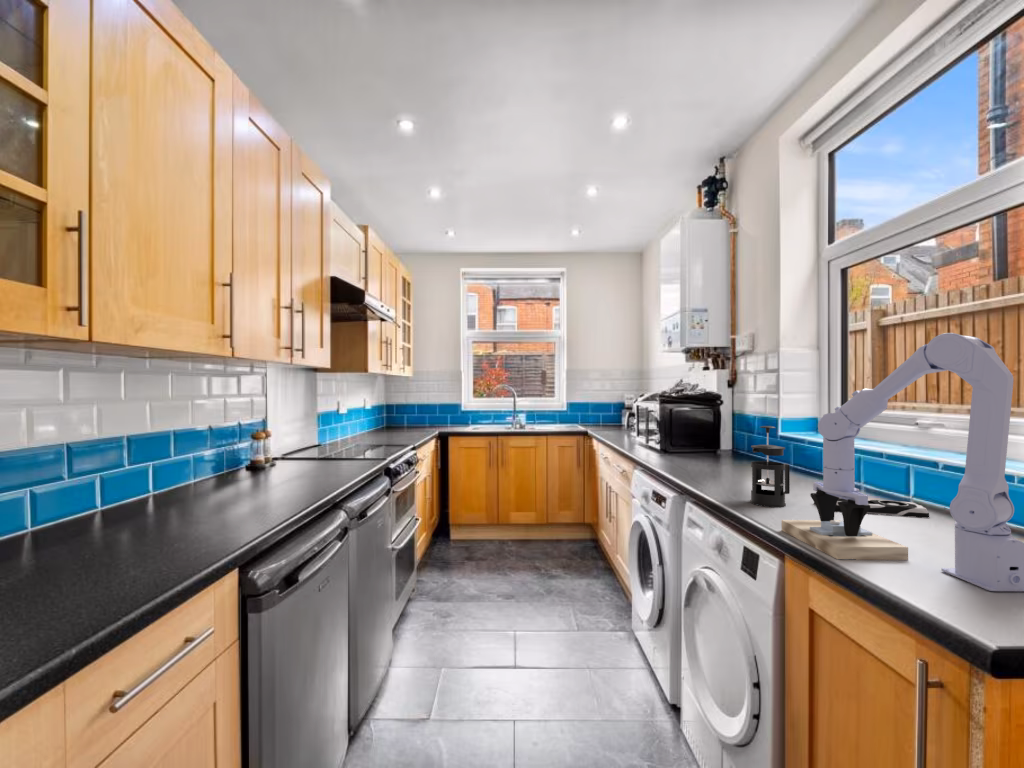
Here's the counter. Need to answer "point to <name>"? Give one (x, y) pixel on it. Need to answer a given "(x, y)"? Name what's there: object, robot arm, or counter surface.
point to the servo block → (836, 529)
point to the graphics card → (892, 508)
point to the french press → (768, 496)
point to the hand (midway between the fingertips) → (838, 530)
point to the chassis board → (846, 543)
